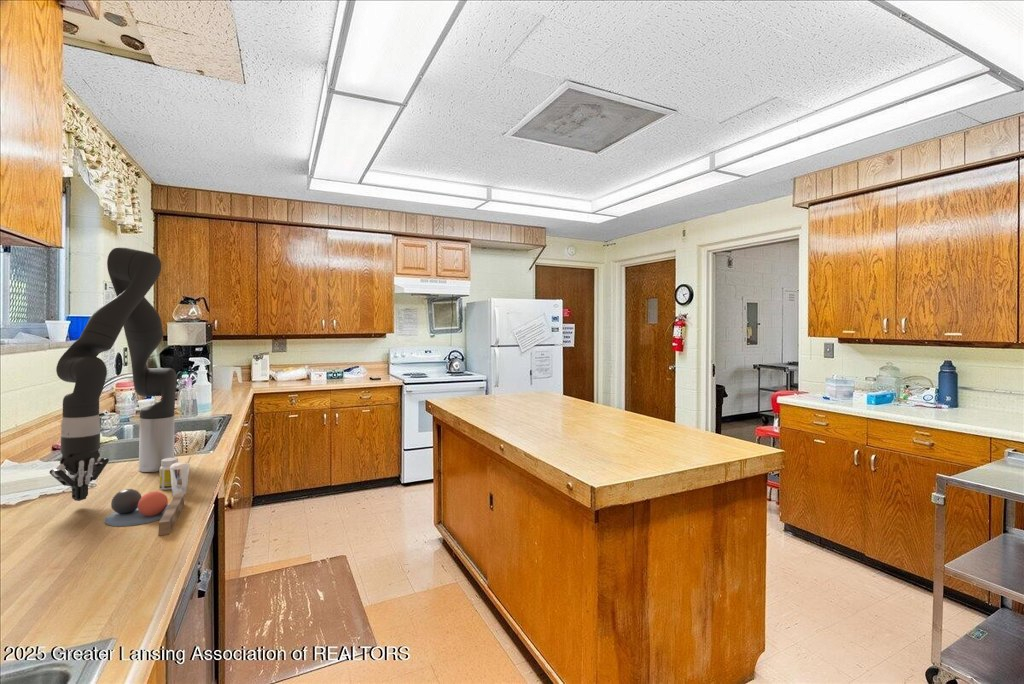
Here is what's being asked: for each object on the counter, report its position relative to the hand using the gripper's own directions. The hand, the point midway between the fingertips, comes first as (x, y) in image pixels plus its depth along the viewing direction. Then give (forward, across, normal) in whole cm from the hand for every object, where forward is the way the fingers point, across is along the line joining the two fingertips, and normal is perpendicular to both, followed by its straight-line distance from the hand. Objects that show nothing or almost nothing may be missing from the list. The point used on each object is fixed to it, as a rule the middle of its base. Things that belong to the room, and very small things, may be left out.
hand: (80, 499), depth 122 cm
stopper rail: (+2, 0, -28) cm, 28 cm away
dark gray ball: (-1, 0, -15) cm, 15 cm away
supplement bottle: (+2, +18, -8) cm, 20 cm away
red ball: (-1, 0, -22) cm, 22 cm away
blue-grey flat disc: (+2, 0, -19) cm, 19 cm away
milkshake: (+2, +15, -16) cm, 22 cm away
